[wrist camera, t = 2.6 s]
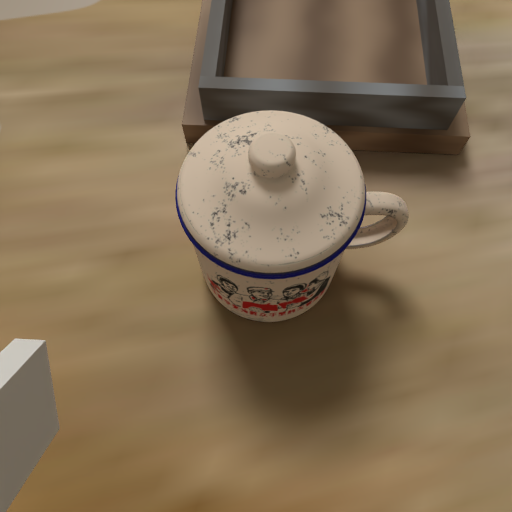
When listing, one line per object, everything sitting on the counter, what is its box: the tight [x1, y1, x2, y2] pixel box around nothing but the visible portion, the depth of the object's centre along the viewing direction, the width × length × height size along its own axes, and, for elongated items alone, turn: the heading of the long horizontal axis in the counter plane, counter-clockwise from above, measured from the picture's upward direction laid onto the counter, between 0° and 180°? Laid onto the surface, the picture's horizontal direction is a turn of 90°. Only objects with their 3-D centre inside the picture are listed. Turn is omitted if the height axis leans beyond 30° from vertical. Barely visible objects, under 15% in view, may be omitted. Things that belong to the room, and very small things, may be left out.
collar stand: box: [182, 0, 470, 155], centre depth 33 cm, size 20×18×5 cm
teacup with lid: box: [176, 110, 408, 322], centre depth 23 cm, size 12×9×12 cm
